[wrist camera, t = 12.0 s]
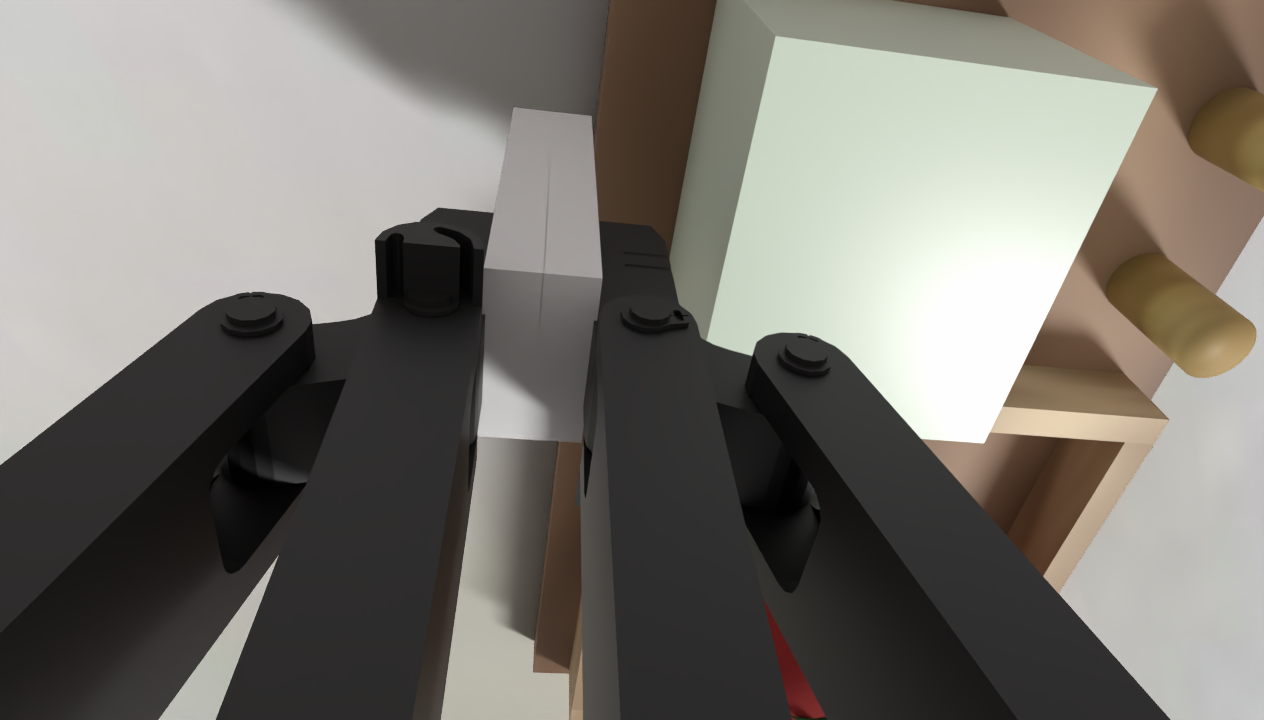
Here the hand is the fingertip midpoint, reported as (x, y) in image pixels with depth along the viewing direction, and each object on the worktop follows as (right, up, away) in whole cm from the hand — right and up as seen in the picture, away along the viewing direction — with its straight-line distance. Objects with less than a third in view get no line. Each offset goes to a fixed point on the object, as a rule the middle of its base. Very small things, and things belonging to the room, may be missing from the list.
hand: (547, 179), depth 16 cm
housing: (+6, +1, +2) cm, 6 cm away
